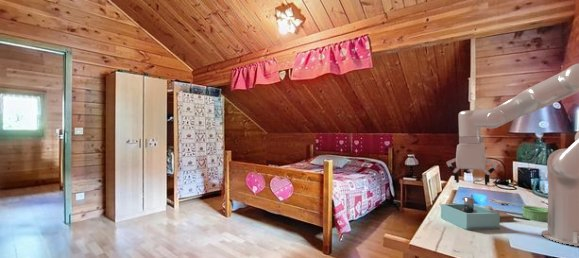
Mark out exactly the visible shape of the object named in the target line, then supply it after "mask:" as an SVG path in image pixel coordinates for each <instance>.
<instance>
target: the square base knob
mask: <svg viewBox="0 0 579 258" xmlns="http://www.w3.org/2000/svg"><path fill="white" fill-rule="evenodd" d="M463 200H464V202H463V204H464V208H462V210H461V211H462V212H465V213H477V210H474V205H475V202H474V201H475V198H473V197H468V196H464V199H463Z"/></svg>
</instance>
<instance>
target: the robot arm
mask: <svg viewBox="0 0 579 258" xmlns="http://www.w3.org/2000/svg"><path fill="white" fill-rule="evenodd" d="M578 93H579V63H575V64H573V65H571V66H569V67H567V68H566V69H565V70H562V71H561V72H558V73H557V74H554V75H553V76H550V77H549V78H547V79H545V80H543V81H541V82H539V83H536V84H535V85H532V86H530V87H528V88H527V89H524V90H523V91H521V92H520V93H518V94H516V96H514V97H512V98H511V99H509V100H507V101H505V102H503V103H502V104H499V105H497V106H495V107H493V108H487V109H480V110H475V109H473V110H472V109H471V110H462V111H460V112H459V113H458V143H459V144H457V145H456V152H455V157H454V158H452V159H450V160H448V161H446V165H447V167H448V169H449V170H450V171H451V172H453V176H454V179H453V180H454V181H455V183H457V184H458V183H460V173H459V170H479V171H480V170H481V171H482V172H484V185H485V186H488V184H490V174H492V173H493V172H495V170H497V168H498V166H499V164H498V163H497V162H495V161H493V160H490V159H488V158H487V153H486V147H485V144H484V142H486V141H487V139H486V137H482V128H488V129H496V128H499V127H501V126H503V125H505V124H507V123H509V122H511V121H514V120H516V119H519V118H520V117H523V116H525V115H528V114H530V113H534V112H537V111H540V110H541V109H544V108H547V107H549V106H551V105H553V104H556V103H557V102H560V101H562V100H564V99H567V98H568V97H571V96H573V95H575V94H578ZM482 143H483V144H482ZM453 163H455V165H456V167H454V166H453V165H452V164H453ZM488 164H489V165H491V168H490V169H487V165H488ZM546 171H547V181H548V182H547V184H548V188H547V189H548V191H547V208H548V221H547V230H542V231H541V236H542V235H543V236H544V238H545V239H547V240H549V239H550V241H552V240H553V242H555V241H556V243H558V242H559V244H562V243H563V245H566V244H569V245H568V246H570V245H574V246H573V247H577V246H579V130H578V131H577V132H576V133H575V136H574V142H573V143H572V144H570V146H568V147H567V148H559V149H557V150H554V151H552V152H551V153H550V154H549V156H548V158H547V161H546ZM543 236H542V237H543Z"/></svg>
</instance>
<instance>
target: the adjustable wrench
mask: <svg viewBox="0 0 579 258" xmlns="http://www.w3.org/2000/svg"><path fill="white" fill-rule="evenodd" d="M489 200H492V201H491V202H494V203H499V204H515V205H518V204H519V203H516V202H509V201H503V200H501V199H496V198H495V199H494V198H490V199H488V201H489ZM491 202H490V203H491ZM520 204H521V203H520ZM521 205H523V206H524V205H525V206H530V205H528V204H521ZM532 206H533V207H537V206H536V205H532ZM539 207H540V206H539ZM540 208H544V209H547V210H548V207H542V206H541V207H540Z"/></svg>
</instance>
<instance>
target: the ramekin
mask: <svg viewBox="0 0 579 258" xmlns="http://www.w3.org/2000/svg"><path fill="white" fill-rule="evenodd" d="M533 206H534V205H529V206H523V207H521V208H522V215H523V218H525V219H527V220H530V221H536V222H540V223H541V222H544V223H546V222H547V223H548V210H547V209H544V208H545V207H542V208H540V206H536V207H533Z"/></svg>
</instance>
